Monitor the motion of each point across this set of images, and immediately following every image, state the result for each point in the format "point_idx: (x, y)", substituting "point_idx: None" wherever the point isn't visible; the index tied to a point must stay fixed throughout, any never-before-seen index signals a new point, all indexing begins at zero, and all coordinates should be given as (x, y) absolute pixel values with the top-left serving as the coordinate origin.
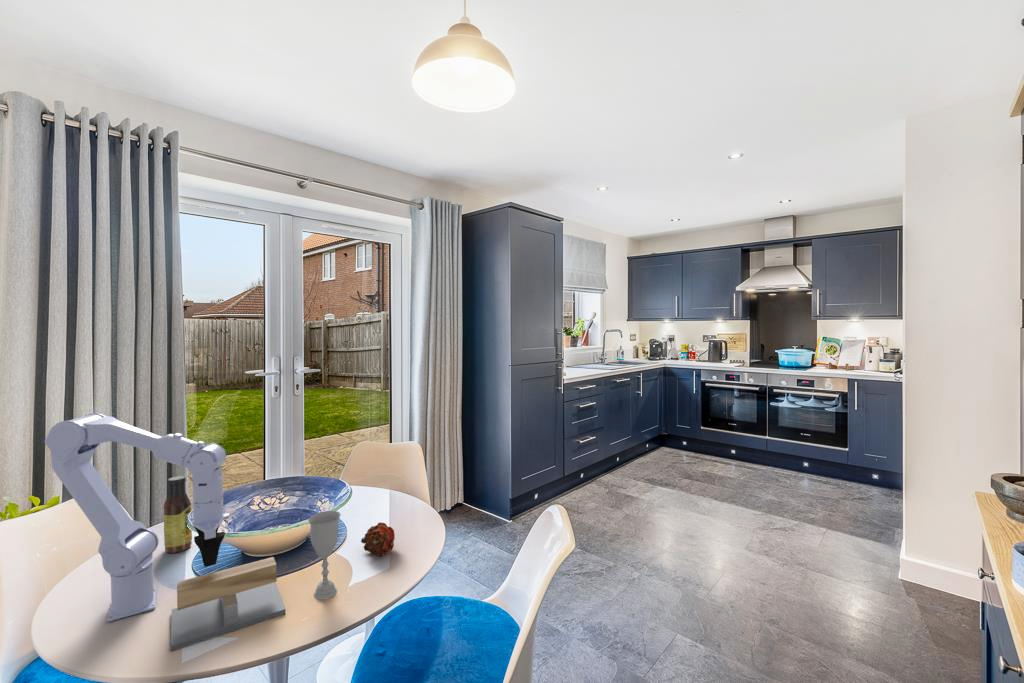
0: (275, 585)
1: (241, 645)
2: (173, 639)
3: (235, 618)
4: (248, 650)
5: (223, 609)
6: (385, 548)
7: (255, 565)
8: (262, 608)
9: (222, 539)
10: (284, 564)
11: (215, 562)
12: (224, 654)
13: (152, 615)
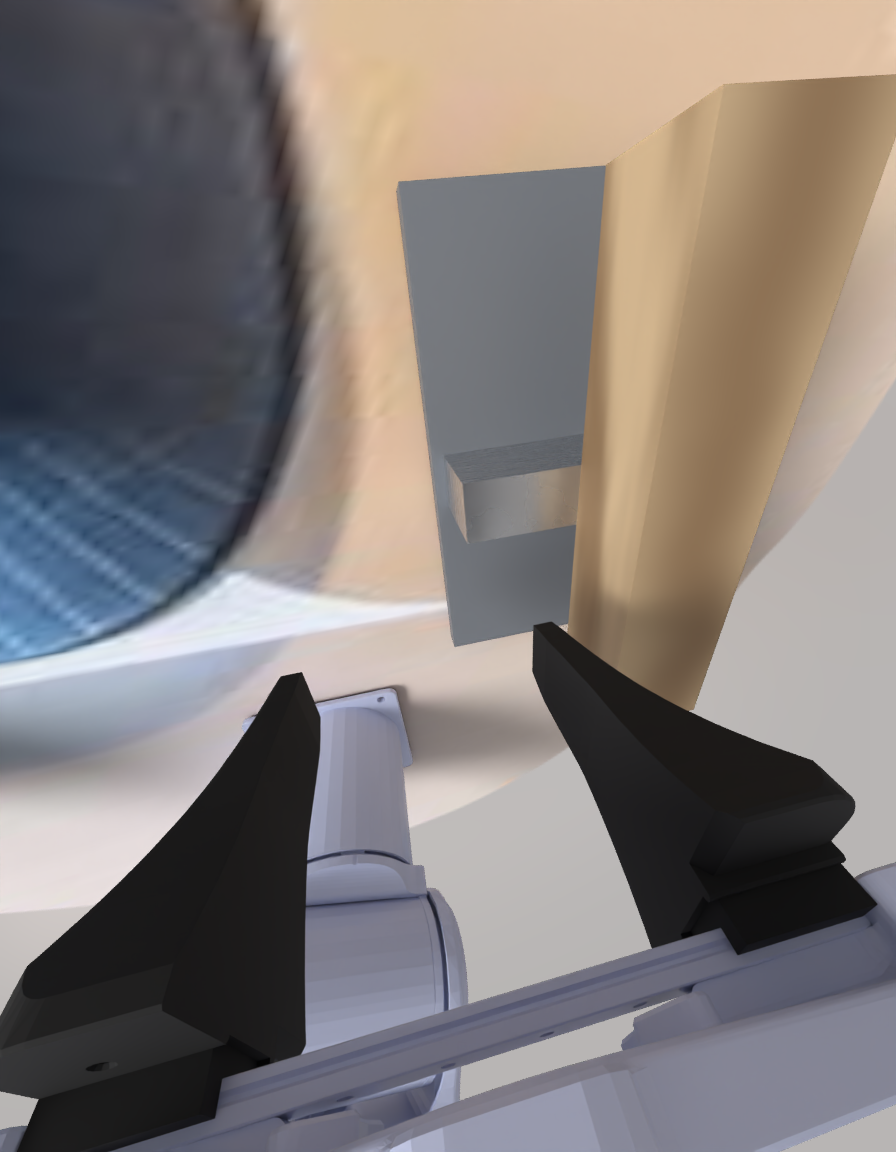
0: (483, 185)
1: (809, 393)
2: None
3: None
4: (857, 366)
5: None
6: None
7: (756, 329)
8: None
9: (785, 753)
10: (59, 39)
11: (561, 630)
12: (804, 447)
13: (428, 680)
